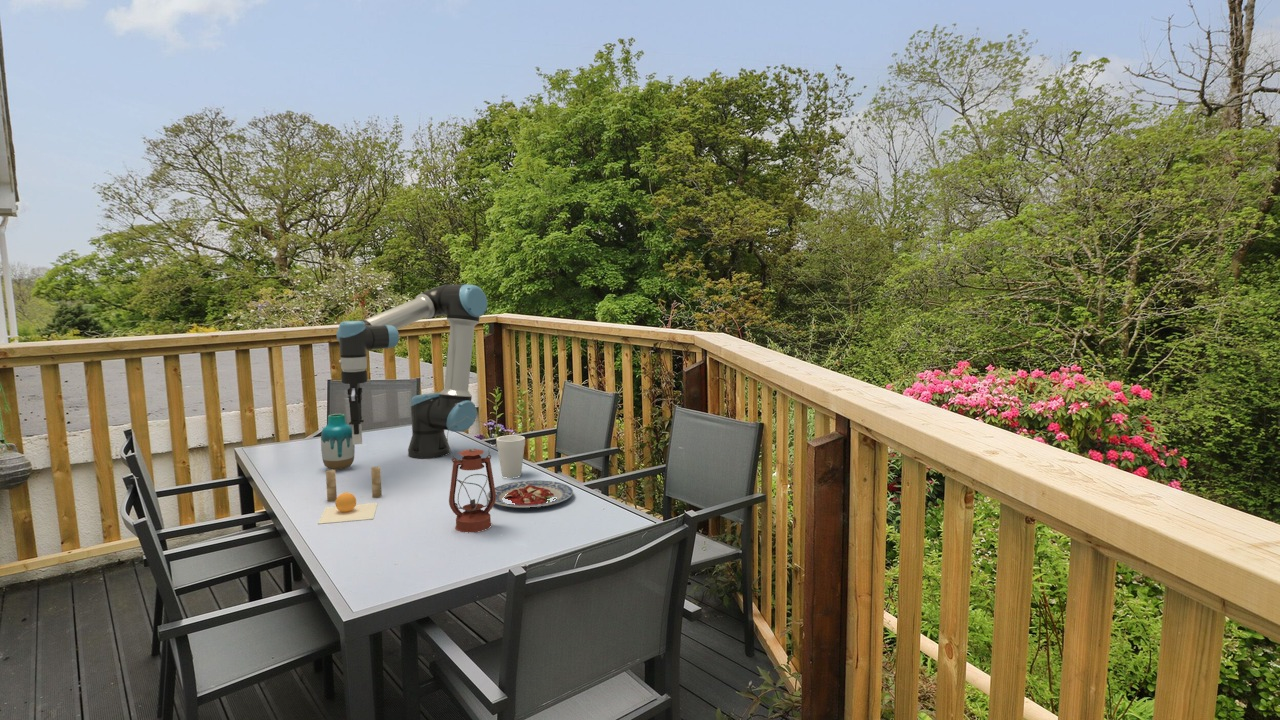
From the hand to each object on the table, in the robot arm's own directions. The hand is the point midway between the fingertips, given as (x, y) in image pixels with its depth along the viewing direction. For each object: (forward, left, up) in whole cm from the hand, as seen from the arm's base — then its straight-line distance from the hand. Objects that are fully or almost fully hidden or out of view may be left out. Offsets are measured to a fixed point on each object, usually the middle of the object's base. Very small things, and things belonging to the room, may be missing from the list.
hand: (357, 443), depth 216 cm
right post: (-6, +13, -14) cm, 20 cm away
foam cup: (-48, +2, -14) cm, 50 cm away
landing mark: (0, +27, -14) cm, 30 cm away
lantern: (-33, +47, -14) cm, 59 cm away
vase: (+9, -24, -14) cm, 29 cm away
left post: (+6, +13, -14) cm, 20 cm away
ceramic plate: (-51, +28, -14) cm, 60 cm away
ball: (+1, +25, -11) cm, 28 cm away
